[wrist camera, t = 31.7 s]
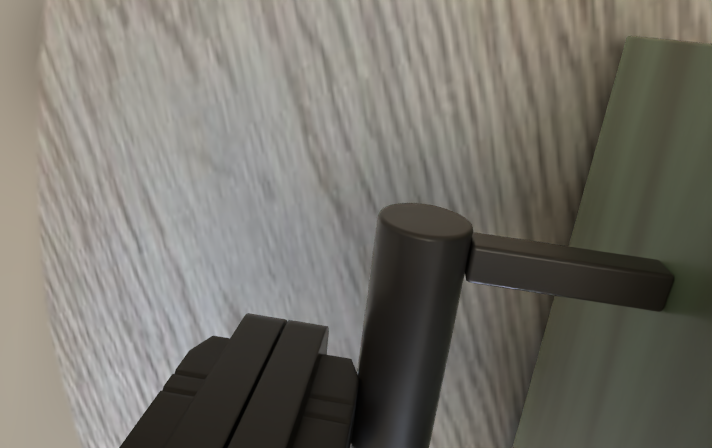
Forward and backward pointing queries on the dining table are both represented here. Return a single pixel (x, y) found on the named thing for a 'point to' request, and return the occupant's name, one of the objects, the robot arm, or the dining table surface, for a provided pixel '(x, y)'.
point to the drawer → (572, 283)
